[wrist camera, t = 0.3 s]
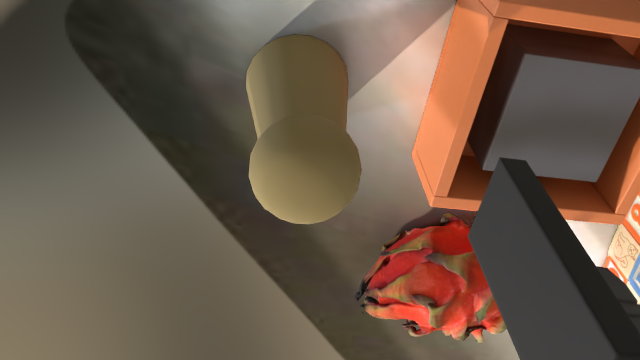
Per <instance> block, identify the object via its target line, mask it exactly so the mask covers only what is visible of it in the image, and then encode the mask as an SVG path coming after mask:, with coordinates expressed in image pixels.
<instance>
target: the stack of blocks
mask: <svg viewBox="0 0 640 360" xmlns="http://www.w3.org/2000/svg"><path fill="white" fill-rule="evenodd" d="M608 254H609V255H608V257H607V258H606V262H605V264H604V267H606V268H608V269H609V270H610V271H611V272H613V273H614V274H615V275H616V276H617V277H618V278H620V279H621V280H622V281H623V282H624V283H625V284H626V285H627V287H628V288H629V289H630V291H631V292H632V294H633V295H634V297H635V298H636V299H637V301H638V302H637V304H639V305H640V192H639V194H638V196H637V197H636V199H635V201H634V203H633V204H632V206H631V208H630V210H629V212H628V213H627V214H626V217H625V218H624V220H623V222H622V224H621V225H619V226H618V228H617V231H616V233H615V236H614V238H613V240H612V243H611V245H610V248H609V251H608Z"/></svg>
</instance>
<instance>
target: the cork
mask: <svg viewBox="0 0 640 360" xmlns="http://www.w3.org/2000/svg"><path fill="white" fill-rule="evenodd" d="M246 89H247V93H248V98H249V102H250V106H251V111H252V115H253V119H254V124H255V128H256V132H257V137H258V140H257V142H256V144H255V147H254V149H253V151H252V153H251V155H250V168H249V179H250V182H251V185H252V189H253V192H254V194H255V197H256V198H257V199H258V201H259V202H260V203H261V204H262V206H263V207H264V208H265V209H266V210H268V211H269V212H271V213H272V214H274V215H275V216H277V217H278V218H280V219H282V220H285V221H288V222H291V223H297V224H312V223H317V222H323V221H325V220H327V219H329V218H331V217H333V216H335V215H337V214H338V213H339V212H340V211H341V210H343V209H344V208H345V207H346V206H347V205H348V204H349V203H350V202H351V200H352V199H353V197H354V195H355V194H356V192H357V190H358V185H359V180H360V175H361V170H362V169H361V163H360V158H359V153H358V149H357V147H356V146H355V144H354V142H353V141H352V139H351V137H350V136H349V134H348V133H347V132H346V122H347V101H348V76H347V70H346V66H345V64H344V62H343V60H342V59H341V57H340V55H339V53H338V52H337V51H335V50H334V49H333V48H332V47H331V46H330V45H329V44H328V43H326V42H324V41H322V40H319V39H317V38H315V37H312V36H305V35H290V36H285V37H280V38H277V39H275V40H274V41H272V42H270V43H268V44H266V45H265V46H263V47H262V49H261V50H260V51H259V52H258V53H257V54H256V55H255V56H254V57H253V59H252V61H251V64H250V66H249V68H248V70H247V79H246Z"/></svg>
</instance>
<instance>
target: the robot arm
mask: <svg viewBox="0 0 640 360" xmlns="http://www.w3.org/2000/svg"><path fill="white" fill-rule="evenodd" d="M468 239H469V241H470V243H471V246H472V248H473V250H474V253H475V255H476V257H477V260H478V262H479V264H480V267H481V269H482V271H483V274H484V276H485V278H486V281H487V283H488V285H489V288H490V290H491V292H492V295H493V297H494V299H495V302H496V304H497V306H498V309H499V311H500V313H501V316H502V318H503V320H504V323H505V325H506V327H507V330H508V332H509V334H510V337H511V339H512V341H513V344H514V346H515V348H516V351H517V353H518V355H519V358H520V360H640V305H639V304H637V302H638V301H637V299H636V298H635V297H634V295H633V294H632V292H631V291H630V289H629V288H628V287H627V285H626V284H625V283H624V282H623V281H622V280H621V279H620V278H618V277H617V276H616V275H615V274H614V273H613V272H611V271H610V270H609V269H608V268H606V267H596V266H595V264H594V263H593V261H592V260H591V258H590V257H589V255H588V254H587V252H586V251H585V249H584V248H583V246H582V245H581V243H580V242H579V240H578V239H577V237H576V236H575V234H574V233H573V231H572V230H571V228H570V226H569V225H568V223H567V222H566V220H565V219H564V217H563V216H562V214H561V213H560V211H559V210H558V208H557V207H556V205H555V204H554V202H553V201H552V199H551V198H550V196H549V195H548V193H547V192H546V190H545V189H544V187H543V186H542V184H541V183H540V181H539V179H538V178H537V176H536V175H535V173H534V172H533V170H532V169H531V167H530V166H529V164H528V163H527V161H526V160H519V159H511V158H502V157H499V160H498V162H497V165H496V167H495V170H494V172H493V175H492V177H491V179H490V182H489V184H488V187H487V189H486V192H485V194H484V197H483V199H482V202H481V204H480V207H479V209H478V212H477V214H476V216H475V219H474V221H473V224H472V226H471V229H470V231H469V234H468Z"/></svg>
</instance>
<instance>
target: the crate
mask: <svg viewBox="0 0 640 360" xmlns="http://www.w3.org/2000/svg"><path fill="white" fill-rule="evenodd" d="M507 24H513V25H520V26H527V27H533V28H540V29H547V30H554V31H560V32H567V33H574V34H581V35H588V36H594V37H601V38H608V39H613V40H614V41H615V42H616V43H618V44H619V45H620V46H621V47H623V48H624V49H625V50H626V51H628V52H629V53H630V54H631V55H633V56H634V57H635V58H636V59H638V60H639V61H640V0H457V2H456V5H455V9H454V12H453V16H452V19H451V22H450V26H449V29H448V32H447V36H446V39H445V43H444V46H443V49H442V53H441V56H440V60H439V63H438V66H437V70H436V73H435V76H434V80H433V83H432V87H431V90H430V93H429V97H428V100H427V104H426V107H425V110H424V114H423V117H422V121H421V124H420V127H419V131H418V134H417V137H416V141H415V144H414V148H413V151H412V154H411V155H412V158H413V161H414V163H415V166H416V169H417V172H418V174H419V177H420V180H421V182H422V185H423V188H424V191H425V193H426V196H427V199H428V201H429V204H430V206H431V207H440V208H451V209H461V210H471V211H478V209H479V207H480V204H481V202H482V199H483V197H484V194H485V192H486V189H487V187H488V184H489V182H490V179H491V177H492V175H493V172H494V171H488V170H483V169H482V167H481V166H480V164H479V162H478V160H477V158H476V156H475V154H474V152H473V150H472V149H471V147H470V145H469V143H468V141H467V138H468V135H469V132H470V129H471V126H472V124H473V121H474V118H475V115H476V112H477V109H478V106H479V103H480V101H481V98H482V95H483V92H484V89H485V86H486V83H487V81H488V78H489V75H490V72H491V69H492V66H493V63H494V60H495V58H496V55H497V52H498V49H499V46H500V43H501V40H502V38H503V35H504V32H505V29H506V26H507ZM537 178H538V179H539V181H540V183H541V184H542V186H543V187H544V189H545V190H546V192H547V193H548V195H549V196H550V198H551V199H552V201H553V202H554V204H555V205H556V207H557V208H558V210H559V211H560V213H561V214H562V216H563V217H564V219H565V220H575V221H585V222H596V223H606V224H616V225H621V224H622V222H623V220H624V218H625V217H626V214H627V213H628V212H629V210H630V208H631V206H632V204H633V203H634V201H635V199H636V197H637V196H638V194H639V192H640V97H639V99H638V101H637V103H636V105H635V107H634V109H633V111H632V113H631V115H630V117H629V119H628V121H627V123H626V125H625V127H624V129H623V131H622V133H621V135H620V137H619V139H618V141H617V143H616V145H615V147H614V149H613V151H612V152H611V154H610V156H609V158H608V160H607V162H606V164H605V166H604V168H603V170H602V172H601V174H600V176H599V178H598V180H597V182H590V181H581V180H572V179H563V178H553V177H544V176H537Z"/></svg>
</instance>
